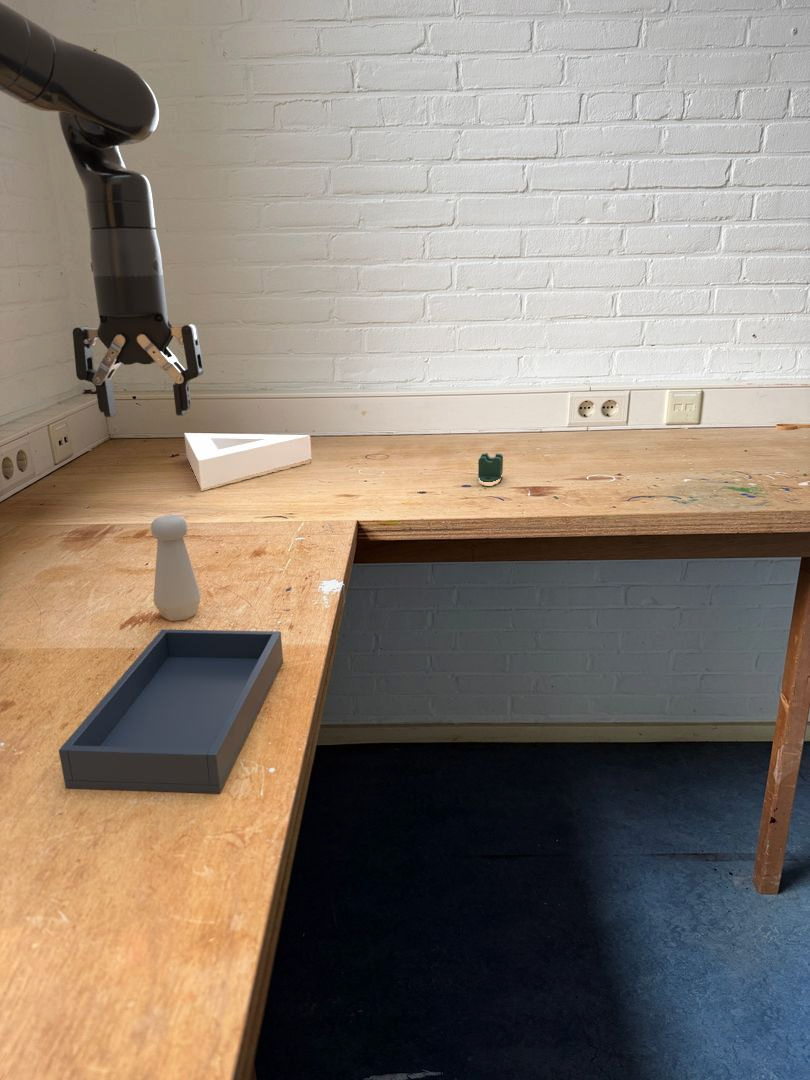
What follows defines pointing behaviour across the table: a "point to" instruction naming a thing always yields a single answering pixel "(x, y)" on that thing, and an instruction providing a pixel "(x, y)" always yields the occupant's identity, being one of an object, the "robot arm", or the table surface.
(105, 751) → the dark blue tray
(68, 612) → the table surface
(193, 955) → the table surface
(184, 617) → the salt shaker
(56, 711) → the table surface
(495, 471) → the mount
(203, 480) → the triangle block
